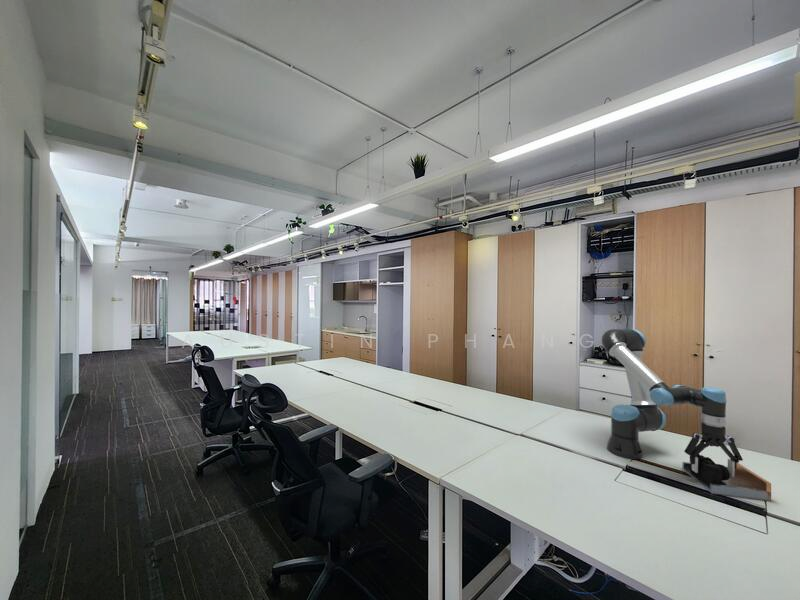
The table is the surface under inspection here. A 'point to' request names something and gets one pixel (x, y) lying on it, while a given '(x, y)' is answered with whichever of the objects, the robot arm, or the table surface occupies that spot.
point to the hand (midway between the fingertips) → (712, 473)
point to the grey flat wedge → (738, 484)
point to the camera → (710, 471)
